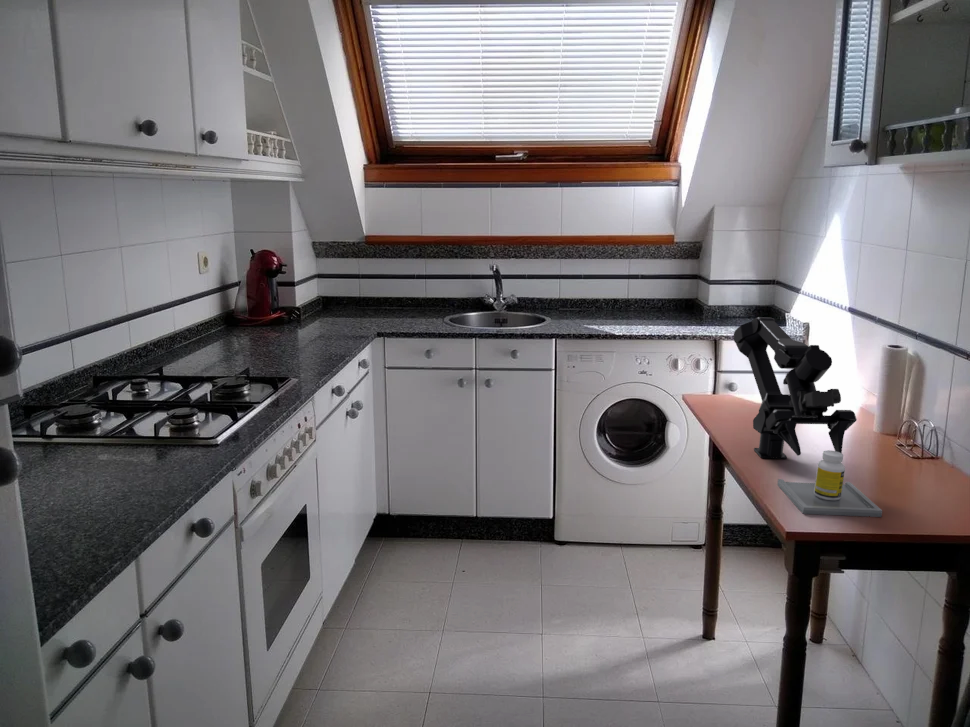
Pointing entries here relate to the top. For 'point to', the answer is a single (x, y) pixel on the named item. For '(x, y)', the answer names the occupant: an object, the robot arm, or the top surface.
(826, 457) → the supplement bottle
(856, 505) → the gray tray
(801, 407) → the robot arm
